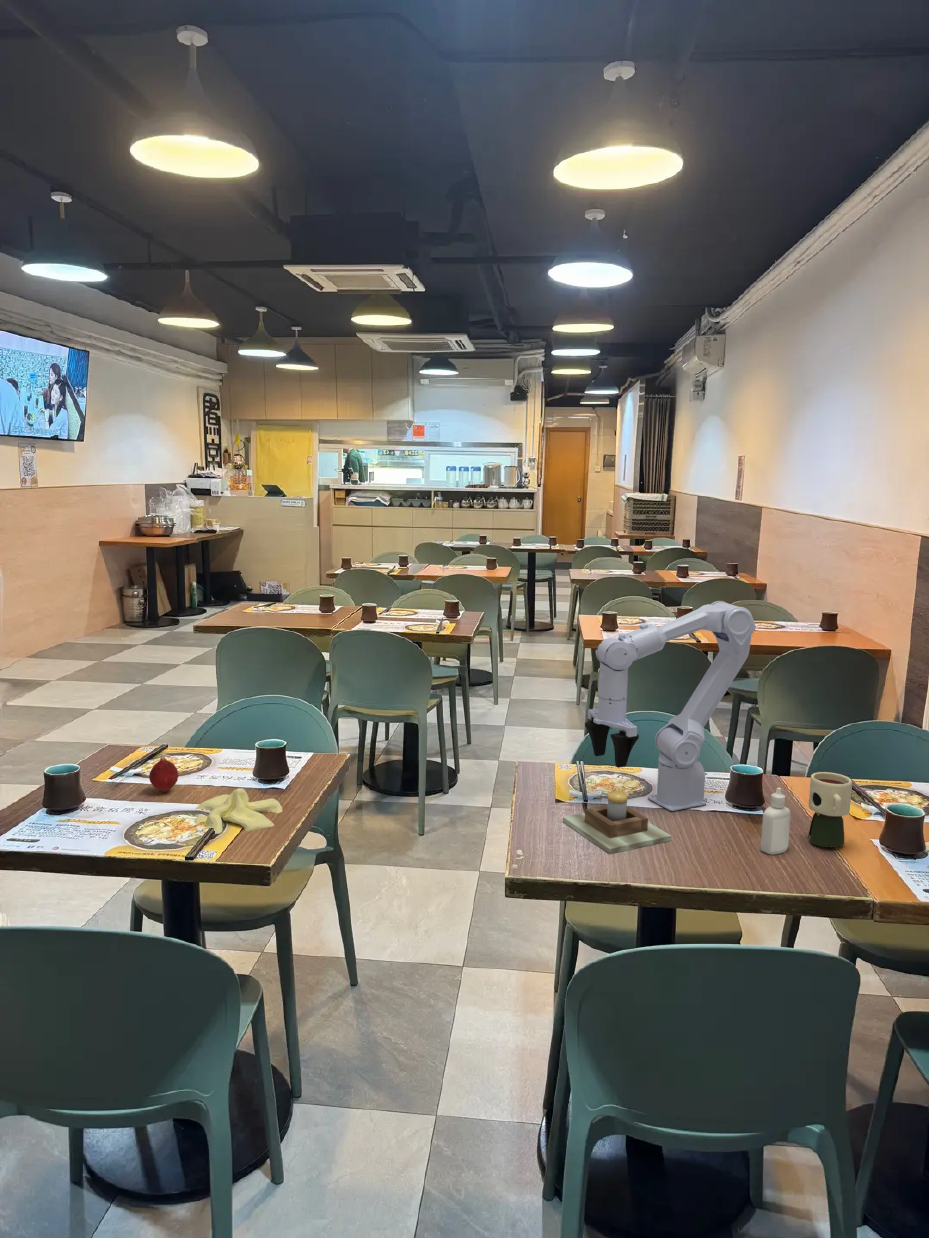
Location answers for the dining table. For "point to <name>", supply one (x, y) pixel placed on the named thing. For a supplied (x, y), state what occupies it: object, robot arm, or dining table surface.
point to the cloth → (238, 811)
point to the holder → (616, 830)
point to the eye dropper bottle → (775, 825)
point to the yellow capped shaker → (616, 805)
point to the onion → (163, 775)
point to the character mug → (829, 808)
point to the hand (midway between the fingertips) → (609, 760)
